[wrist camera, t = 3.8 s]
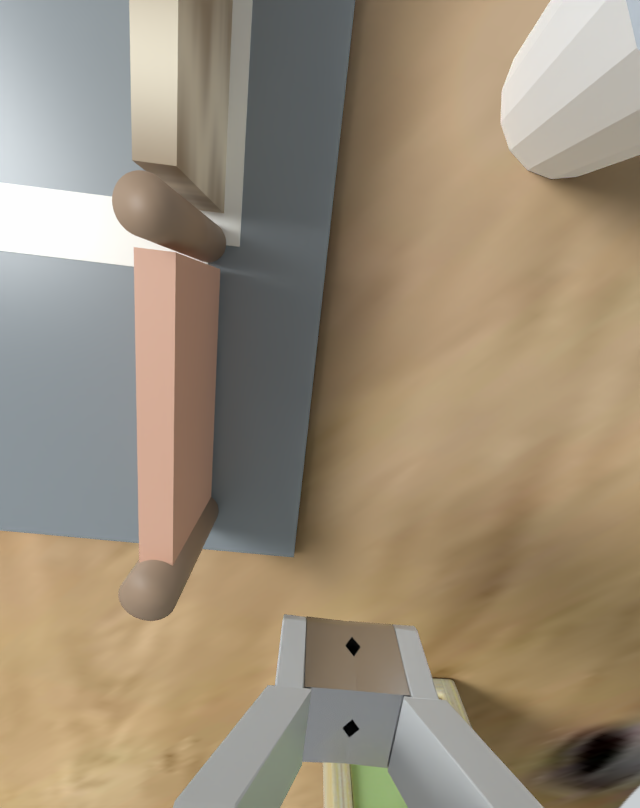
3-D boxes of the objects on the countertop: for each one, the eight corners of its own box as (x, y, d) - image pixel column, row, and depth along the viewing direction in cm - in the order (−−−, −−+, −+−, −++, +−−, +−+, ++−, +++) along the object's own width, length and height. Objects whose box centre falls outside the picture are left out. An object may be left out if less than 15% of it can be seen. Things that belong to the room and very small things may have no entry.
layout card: (-387, -351, 11) (-423, -384, 11) (379, -220, 12) (382, -244, 12) (-165, 508, 19) (-179, 514, 18) (294, 551, 20) (293, 557, 19)
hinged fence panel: (182, 217, 15) (102, 165, 9) (232, 223, 15) (181, 175, 9) (178, 525, 18) (119, 618, 13) (217, 528, 19) (175, 622, 13)
